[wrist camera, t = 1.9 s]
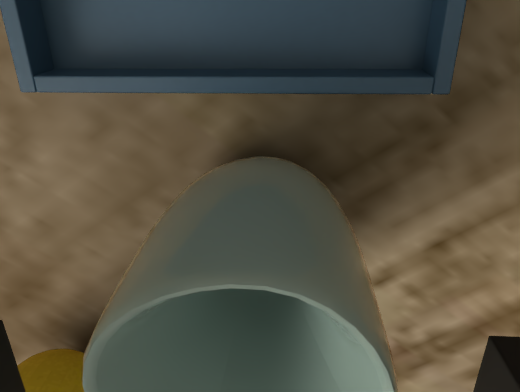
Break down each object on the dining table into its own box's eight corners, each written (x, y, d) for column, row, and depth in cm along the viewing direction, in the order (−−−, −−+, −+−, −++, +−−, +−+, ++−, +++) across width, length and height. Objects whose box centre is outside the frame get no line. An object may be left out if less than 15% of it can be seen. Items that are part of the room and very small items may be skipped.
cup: (372, 255, 20) (440, 473, 11) (223, 304, 22) (176, 526, 13) (310, 102, 17) (334, 227, 8) (144, 173, 19) (12, 340, 10)
